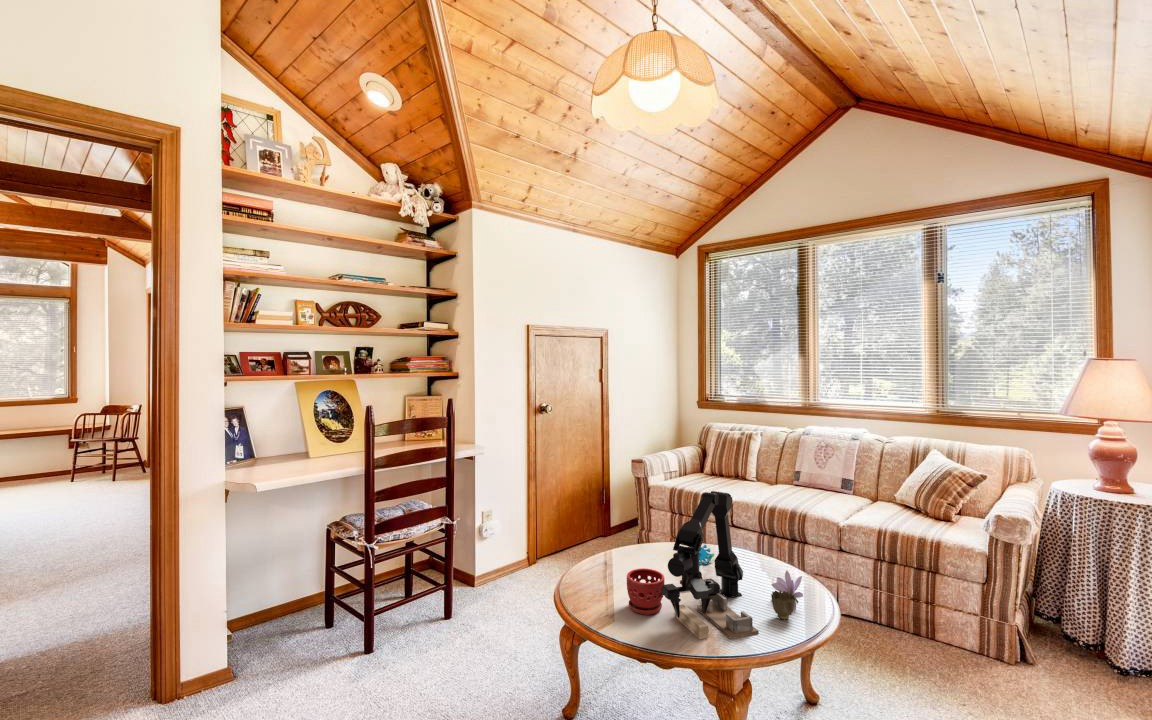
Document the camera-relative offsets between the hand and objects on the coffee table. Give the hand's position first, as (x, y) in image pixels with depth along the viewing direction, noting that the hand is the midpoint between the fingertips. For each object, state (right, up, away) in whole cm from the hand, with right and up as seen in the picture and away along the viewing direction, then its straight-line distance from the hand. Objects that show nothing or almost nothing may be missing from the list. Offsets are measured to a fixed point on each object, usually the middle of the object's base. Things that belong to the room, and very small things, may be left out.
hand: (691, 615), depth 175 cm
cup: (+32, -4, +5) cm, 32 cm away
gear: (+17, -5, +58) cm, 61 cm away
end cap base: (+12, -4, +3) cm, 13 cm away
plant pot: (-13, -4, +13) cm, 19 cm away
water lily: (+37, -4, +16) cm, 40 cm away
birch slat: (0, -4, 0) cm, 4 cm away
